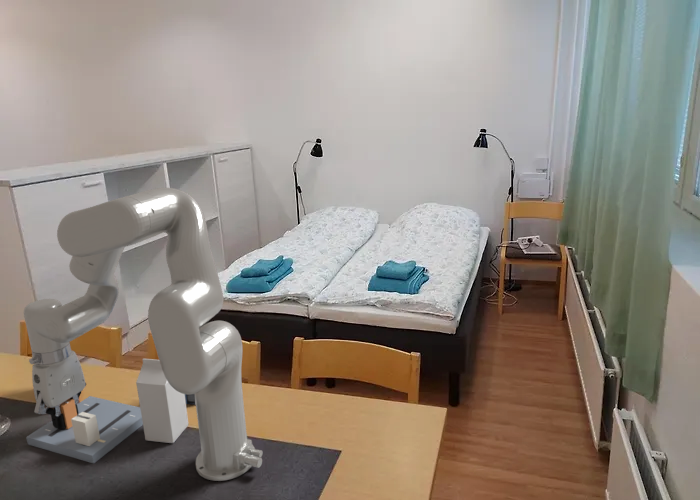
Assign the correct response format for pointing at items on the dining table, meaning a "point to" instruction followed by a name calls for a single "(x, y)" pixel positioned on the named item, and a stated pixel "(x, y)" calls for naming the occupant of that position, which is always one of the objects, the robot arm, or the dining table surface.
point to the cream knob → (85, 428)
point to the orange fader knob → (68, 411)
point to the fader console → (112, 425)
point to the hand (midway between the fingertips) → (66, 422)
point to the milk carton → (160, 404)
